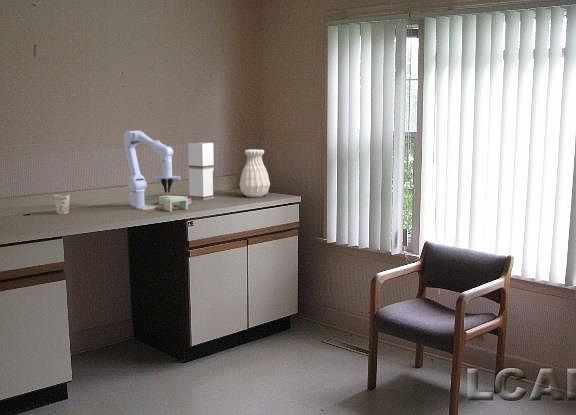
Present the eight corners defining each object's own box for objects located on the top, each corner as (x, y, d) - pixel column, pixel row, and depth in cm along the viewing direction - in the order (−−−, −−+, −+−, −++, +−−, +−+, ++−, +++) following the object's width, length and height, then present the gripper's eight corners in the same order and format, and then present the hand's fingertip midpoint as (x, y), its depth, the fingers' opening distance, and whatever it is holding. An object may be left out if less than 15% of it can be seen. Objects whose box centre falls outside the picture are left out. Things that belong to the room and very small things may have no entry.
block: (162, 208, 371) (162, 199, 371) (169, 207, 374) (168, 198, 373) (166, 209, 368) (166, 200, 367) (173, 208, 371) (173, 199, 370)
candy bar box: (191, 204, 393) (165, 203, 396) (191, 196, 392) (166, 195, 396) (184, 205, 382) (158, 204, 385) (184, 197, 381) (158, 196, 385)
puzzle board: (133, 209, 371) (133, 207, 370) (167, 205, 385) (166, 203, 385) (154, 215, 354) (153, 212, 353) (188, 210, 368) (188, 208, 368)
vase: (235, 198, 418) (234, 150, 413) (244, 193, 437) (243, 148, 432) (265, 199, 413) (265, 151, 409) (273, 194, 433) (273, 149, 428)
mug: (55, 214, 354) (54, 196, 352) (52, 211, 365) (51, 193, 363) (71, 213, 358) (70, 195, 356) (67, 210, 369) (67, 192, 367)
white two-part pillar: (214, 198, 417) (213, 142, 412) (203, 200, 408) (202, 143, 403) (200, 196, 423) (199, 142, 418) (189, 198, 415) (188, 143, 409)
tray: (136, 208, 370) (136, 206, 370) (148, 207, 375) (148, 205, 375) (143, 210, 364) (143, 208, 364) (155, 208, 369) (155, 206, 369)
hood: (163, 209, 364) (163, 198, 363) (180, 207, 371) (180, 196, 370) (170, 211, 359) (170, 199, 358) (187, 209, 366) (187, 197, 365)
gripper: (180, 167, 371) (181, 191, 374) (155, 167, 372) (155, 191, 374) (178, 168, 365) (179, 193, 367) (152, 168, 365) (153, 193, 367)
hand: (167, 192), depth 370 cm, fingers closed
